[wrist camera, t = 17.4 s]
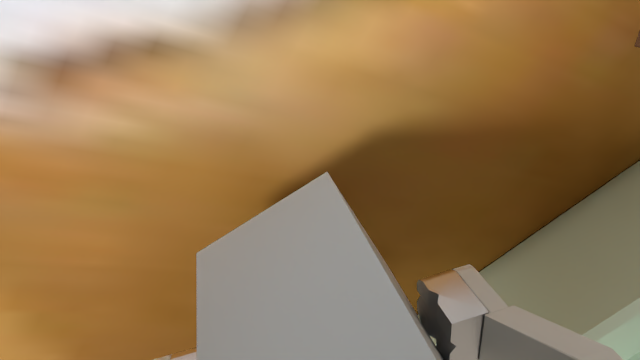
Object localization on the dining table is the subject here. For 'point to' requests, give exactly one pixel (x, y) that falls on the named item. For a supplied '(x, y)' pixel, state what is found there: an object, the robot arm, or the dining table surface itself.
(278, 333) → the grey block
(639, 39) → the walnut block
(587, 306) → the serving tray
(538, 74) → the dining table surface
